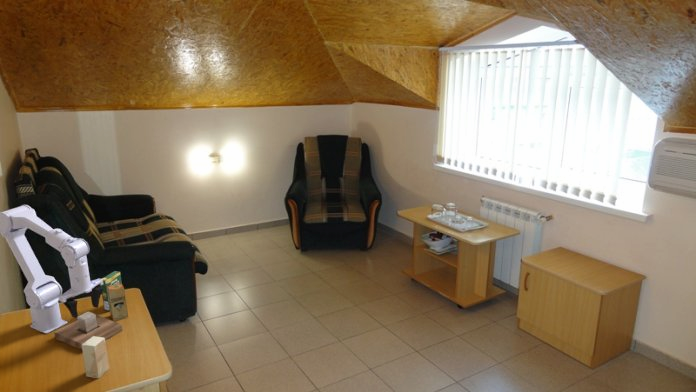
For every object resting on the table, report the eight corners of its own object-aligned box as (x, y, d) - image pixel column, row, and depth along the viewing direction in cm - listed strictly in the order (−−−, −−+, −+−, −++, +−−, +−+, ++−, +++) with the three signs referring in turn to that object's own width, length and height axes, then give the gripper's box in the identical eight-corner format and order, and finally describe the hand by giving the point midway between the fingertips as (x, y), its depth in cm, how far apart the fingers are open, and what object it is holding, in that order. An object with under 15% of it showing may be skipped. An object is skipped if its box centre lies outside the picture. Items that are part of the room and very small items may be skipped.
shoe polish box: (110, 315, 178) (106, 286, 175) (125, 311, 181) (121, 282, 178) (113, 321, 174) (109, 291, 171) (128, 317, 177) (124, 287, 174)
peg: (80, 334, 165) (77, 316, 163) (90, 329, 168) (87, 311, 166) (87, 337, 163) (84, 319, 161) (98, 332, 167) (95, 314, 165)
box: (98, 379, 144) (93, 347, 141) (85, 377, 145) (80, 345, 142) (110, 368, 149) (105, 337, 146) (97, 366, 150) (92, 335, 146)
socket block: (55, 338, 164) (54, 332, 163) (92, 319, 176) (91, 313, 175) (85, 351, 157) (84, 345, 156) (122, 330, 169) (121, 324, 168)
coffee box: (109, 312, 180) (105, 280, 177) (103, 310, 181) (98, 279, 177) (125, 301, 188) (121, 271, 184) (119, 300, 189) (114, 270, 185)
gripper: (66, 287, 152) (72, 325, 156) (106, 269, 164) (112, 305, 168) (52, 282, 155) (59, 319, 159) (93, 265, 167) (98, 300, 171)
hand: (85, 311), depth 164 cm, fingers open, 7 cm apart
